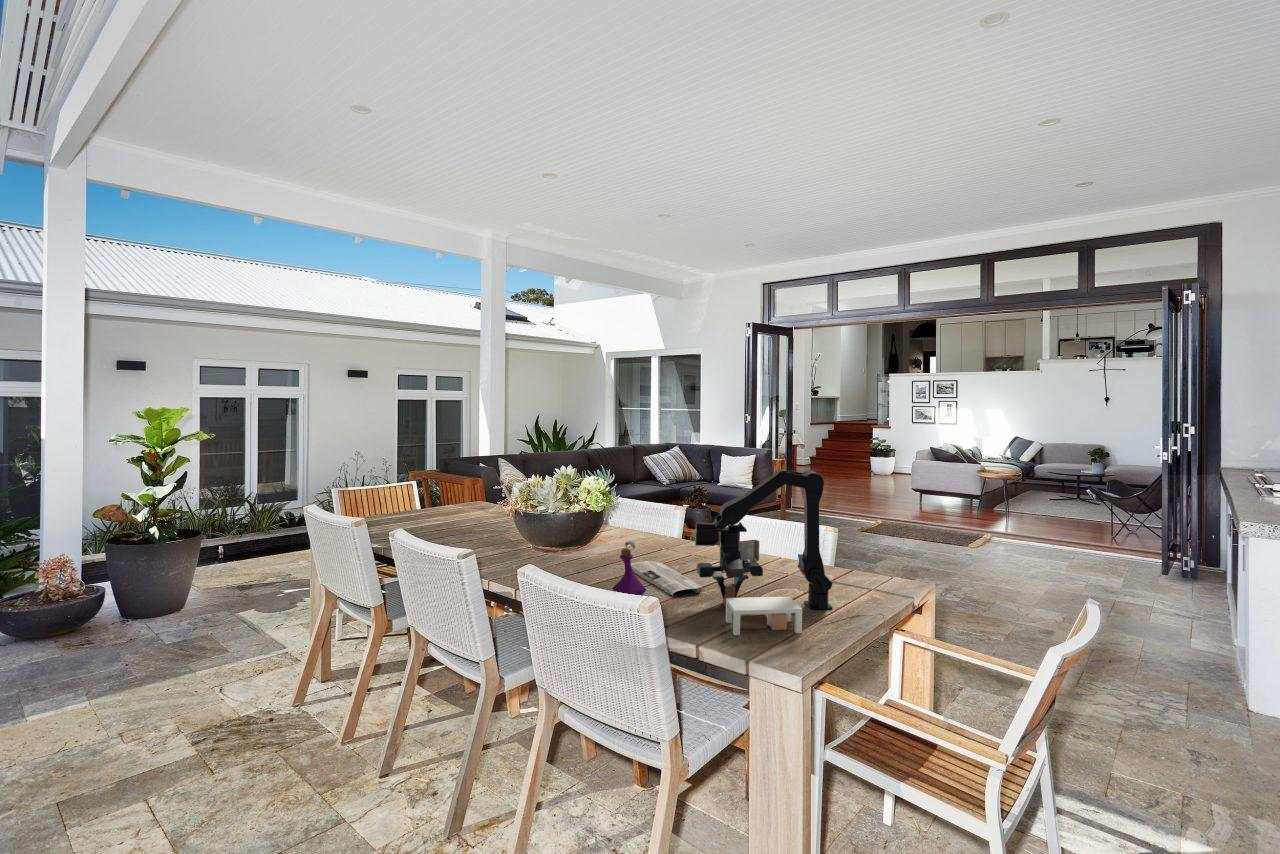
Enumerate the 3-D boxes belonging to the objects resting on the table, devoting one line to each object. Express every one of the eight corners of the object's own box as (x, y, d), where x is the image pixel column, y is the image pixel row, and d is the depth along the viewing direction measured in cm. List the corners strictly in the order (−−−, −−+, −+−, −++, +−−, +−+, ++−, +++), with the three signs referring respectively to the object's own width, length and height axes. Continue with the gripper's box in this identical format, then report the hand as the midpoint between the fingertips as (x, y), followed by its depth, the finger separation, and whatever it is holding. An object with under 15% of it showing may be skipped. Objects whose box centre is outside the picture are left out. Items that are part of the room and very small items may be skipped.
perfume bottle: (611, 598, 196) (612, 540, 194) (631, 593, 200) (631, 536, 199) (627, 605, 190) (627, 545, 189) (646, 600, 195) (647, 541, 194)
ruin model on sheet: (734, 565, 235) (734, 538, 235) (729, 563, 238) (730, 537, 237) (759, 561, 240) (760, 535, 240) (754, 559, 243) (755, 534, 242)
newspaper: (627, 569, 228) (627, 559, 228) (658, 565, 234) (658, 556, 234) (674, 600, 197) (674, 588, 196) (709, 594, 202) (709, 583, 202)
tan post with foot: (722, 603, 192) (723, 583, 192) (747, 602, 193) (747, 583, 193) (739, 629, 172) (740, 606, 172) (767, 628, 173) (767, 606, 172)
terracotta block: (767, 624, 176) (768, 610, 175) (782, 624, 176) (782, 609, 176) (772, 630, 172) (772, 615, 171) (786, 629, 172) (787, 615, 172)
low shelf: (725, 621, 178) (725, 598, 177) (789, 619, 179) (789, 596, 179) (734, 635, 168) (734, 610, 167) (801, 633, 169) (802, 608, 169)
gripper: (703, 553, 181) (703, 608, 182) (768, 552, 183) (767, 606, 184) (696, 544, 192) (696, 595, 193) (758, 543, 194) (757, 594, 195)
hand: (729, 598), depth 191 cm, fingers closed on tan post with foot, 3 cm apart
